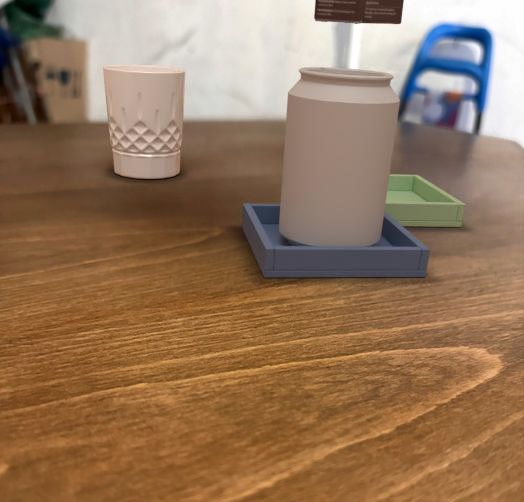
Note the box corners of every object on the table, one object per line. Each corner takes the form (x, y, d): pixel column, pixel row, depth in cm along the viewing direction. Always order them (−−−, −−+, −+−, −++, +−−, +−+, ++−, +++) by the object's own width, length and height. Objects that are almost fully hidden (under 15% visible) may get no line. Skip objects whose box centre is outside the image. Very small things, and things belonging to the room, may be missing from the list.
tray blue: (375, 229, 55) (378, 205, 54) (425, 277, 46) (430, 249, 45) (241, 227, 53) (242, 203, 53) (264, 277, 44) (265, 248, 43)
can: (393, 260, 47) (421, 76, 41) (288, 261, 45) (303, 70, 40) (361, 229, 53) (382, 66, 48) (269, 228, 52) (279, 61, 47)
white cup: (125, 161, 73) (122, 63, 69) (194, 168, 72) (195, 68, 68) (95, 176, 66) (89, 67, 62) (170, 184, 65) (170, 74, 61)
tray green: (415, 194, 67) (418, 174, 66) (461, 227, 57) (466, 204, 56) (306, 192, 65) (308, 172, 64) (335, 226, 56) (338, 202, 55)
